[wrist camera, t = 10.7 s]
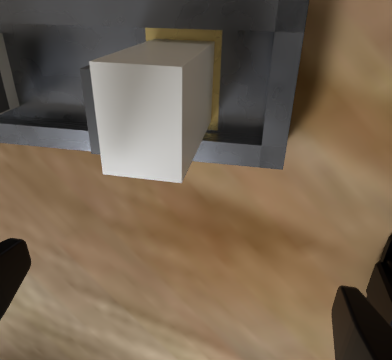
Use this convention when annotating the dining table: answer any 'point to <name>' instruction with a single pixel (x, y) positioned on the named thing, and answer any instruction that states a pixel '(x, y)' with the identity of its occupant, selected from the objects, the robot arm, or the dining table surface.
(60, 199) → the dining table surface
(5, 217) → the dining table surface
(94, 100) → the block
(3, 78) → the block
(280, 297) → the dining table surface
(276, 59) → the grey rectangular tray
